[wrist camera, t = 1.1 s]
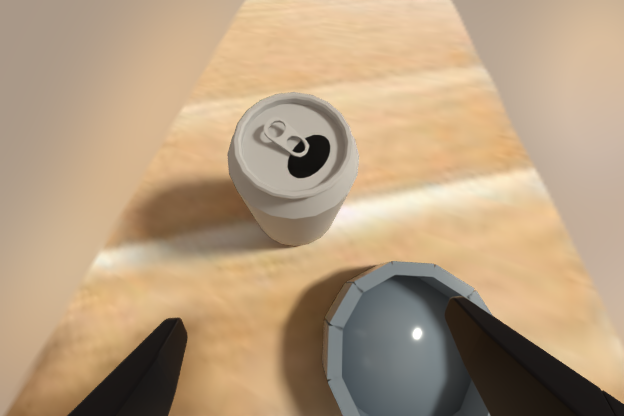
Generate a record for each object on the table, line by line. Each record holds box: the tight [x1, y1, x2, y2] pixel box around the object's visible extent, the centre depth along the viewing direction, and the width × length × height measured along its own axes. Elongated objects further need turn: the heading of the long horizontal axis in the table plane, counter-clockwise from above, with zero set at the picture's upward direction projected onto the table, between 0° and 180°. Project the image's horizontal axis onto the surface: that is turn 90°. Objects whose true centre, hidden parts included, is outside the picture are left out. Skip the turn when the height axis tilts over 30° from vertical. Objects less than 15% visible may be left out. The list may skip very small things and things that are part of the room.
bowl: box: [322, 261, 493, 416], centre depth 19 cm, size 13×13×4 cm
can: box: [228, 92, 359, 246], centre depth 18 cm, size 8×8×12 cm
